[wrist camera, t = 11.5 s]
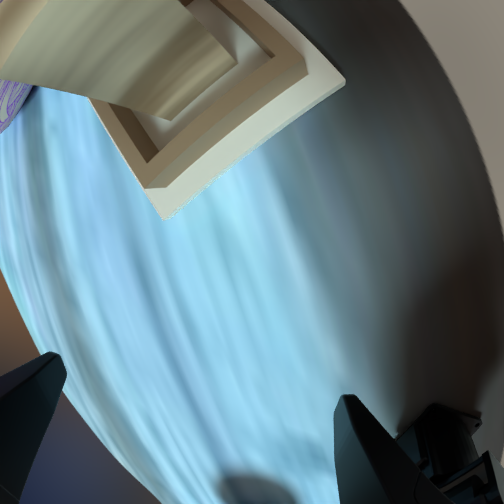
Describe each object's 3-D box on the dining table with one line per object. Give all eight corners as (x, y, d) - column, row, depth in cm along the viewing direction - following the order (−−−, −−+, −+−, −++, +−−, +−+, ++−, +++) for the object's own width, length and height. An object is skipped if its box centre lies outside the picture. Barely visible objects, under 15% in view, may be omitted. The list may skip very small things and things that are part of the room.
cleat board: (345, 85, 16) (348, 47, 10) (170, 218, 20) (120, 231, 15) (216, -32, 15) (187, -72, 10) (86, 85, 20) (37, 72, 15)
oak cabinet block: (238, 63, 16) (107, -60, 4) (170, 121, 18) (-5, 78, 6) (192, 18, 16) (69, -81, 4) (133, 71, 18) (-15, 19, 6)
